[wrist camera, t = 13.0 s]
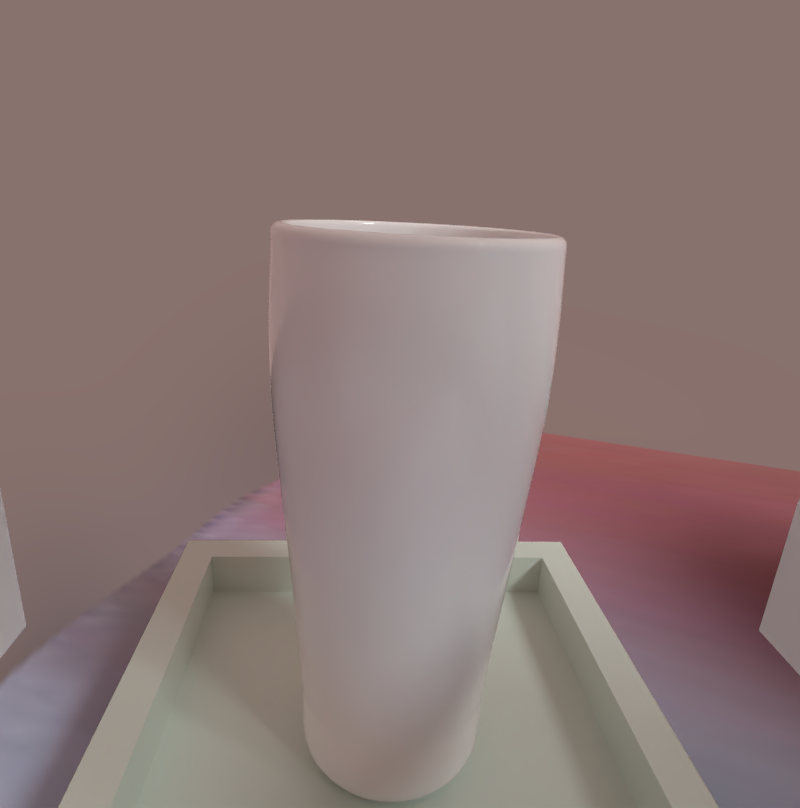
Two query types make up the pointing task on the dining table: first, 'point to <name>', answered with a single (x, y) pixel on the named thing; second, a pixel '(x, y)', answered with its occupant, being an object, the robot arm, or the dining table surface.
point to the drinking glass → (404, 475)
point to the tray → (282, 702)
